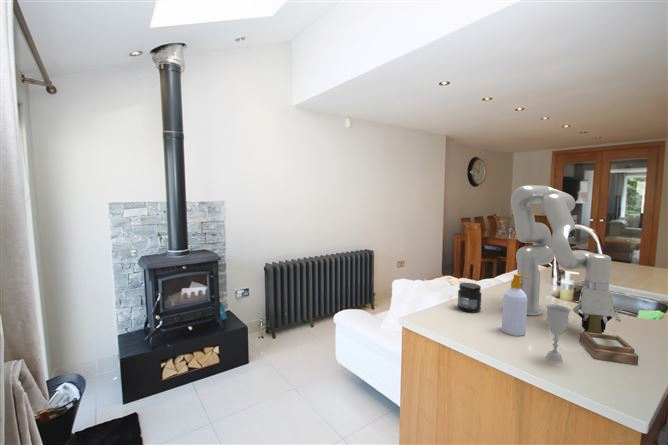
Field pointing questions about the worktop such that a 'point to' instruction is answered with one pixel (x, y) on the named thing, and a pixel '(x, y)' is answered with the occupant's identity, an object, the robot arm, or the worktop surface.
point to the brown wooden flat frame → (608, 348)
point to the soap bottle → (514, 308)
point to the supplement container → (469, 297)
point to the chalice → (556, 327)
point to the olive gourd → (594, 324)
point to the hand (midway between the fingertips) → (593, 329)
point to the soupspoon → (617, 311)
